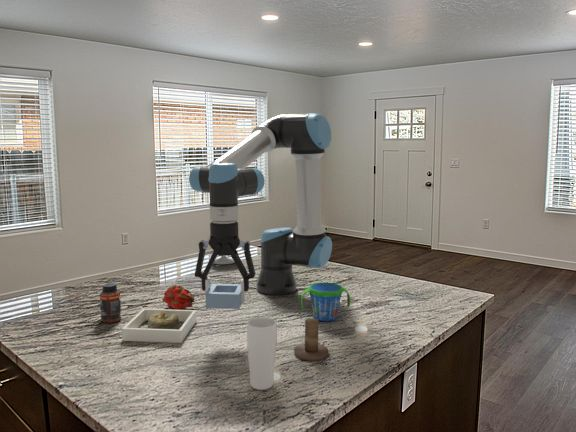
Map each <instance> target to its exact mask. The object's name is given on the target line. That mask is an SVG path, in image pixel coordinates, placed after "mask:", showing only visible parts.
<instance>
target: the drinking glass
mask: <svg viewBox="0 0 576 432" xmlns="http://www.w3.org/2000/svg"><path fill="white" fill-rule="evenodd" d="M246 324H247V325H246V345H247V356H248V368H249V369H248V370H249V383H250V387H251V388H252V389H254V390H258V391H265V390H268V389H271V388H272V387H273V385H274V378H275V377H274V376H275V375H274V374H275V363H276V353H277V344H278V343H277V342H278V324H277V320H275V319H274V318H270V317H265V316H263V317H262V316H261V317H260V316H259V317H254V318H251V319H249V320H247V322H246Z"/></svg>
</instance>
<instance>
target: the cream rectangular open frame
mask: <svg viewBox="0 0 576 432" xmlns="http://www.w3.org/2000/svg"><path fill="white" fill-rule="evenodd" d="M161 311H163V312H164V313H165V315H168V317H169V316H171V315H172V314H173V315H175V314H176V315H177V316H178V318H179V323H180V322H181V323H183V324H181V325H180V328H179V329H177V330H176V329H147V328H148V327H147V328H145V327H143V328H142V327H140V326H141V325H142V324H144V323H145V322H146V321H147V322H148V318H149V317H150V316H152V315H153V314H156V313H157V314H158V313H159V314H161V313H162V312H161ZM162 314H163V313H162ZM196 323H197V309H195V310H194V309H193V310H192V309H183V310H176V309H171V310H170V309H169V308H168V309H164V308H161V309H160V308H142V309H141V310H140V311H139V312H138V313H137V314H136V315H134V316H133V318H131V319H130V321H129V322H127V323H126V324H125V325H124V326H123V327H122V328H121V335H122V337H121V341H123V342H141V343H142V342H144V343H145V342H147V343H174V344H175V343H176V344H182V343H183V342H184V340H185V338H186V337H187V336H188V335H189V333H190V331H191V330H192V328H193V327H194V326H195V324H196Z"/></svg>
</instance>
